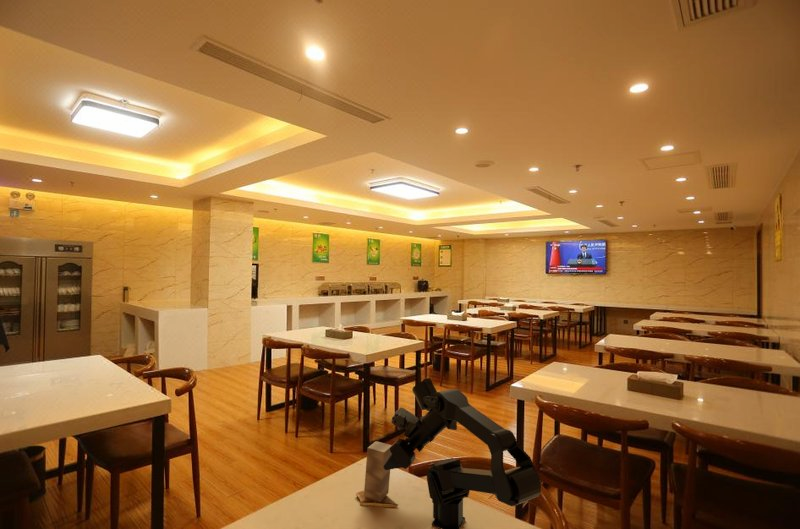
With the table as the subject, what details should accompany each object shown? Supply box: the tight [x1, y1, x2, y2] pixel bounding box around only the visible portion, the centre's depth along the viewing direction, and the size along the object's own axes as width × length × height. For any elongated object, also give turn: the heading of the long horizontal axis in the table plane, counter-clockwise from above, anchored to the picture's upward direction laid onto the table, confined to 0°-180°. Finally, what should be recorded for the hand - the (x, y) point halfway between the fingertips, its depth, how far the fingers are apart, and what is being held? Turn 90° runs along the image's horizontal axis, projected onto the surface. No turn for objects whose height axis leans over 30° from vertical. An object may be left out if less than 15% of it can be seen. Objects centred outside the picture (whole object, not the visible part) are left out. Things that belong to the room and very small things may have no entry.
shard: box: [355, 489, 399, 508], centre depth 105 cm, size 11×8×2 cm
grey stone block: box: [363, 440, 393, 502], centre depth 107 cm, size 5×5×13 cm
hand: (391, 460), depth 106 cm, fingers open, 9 cm apart
